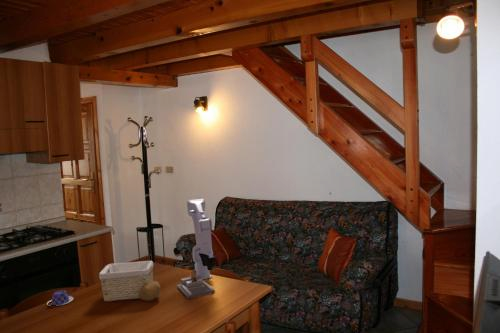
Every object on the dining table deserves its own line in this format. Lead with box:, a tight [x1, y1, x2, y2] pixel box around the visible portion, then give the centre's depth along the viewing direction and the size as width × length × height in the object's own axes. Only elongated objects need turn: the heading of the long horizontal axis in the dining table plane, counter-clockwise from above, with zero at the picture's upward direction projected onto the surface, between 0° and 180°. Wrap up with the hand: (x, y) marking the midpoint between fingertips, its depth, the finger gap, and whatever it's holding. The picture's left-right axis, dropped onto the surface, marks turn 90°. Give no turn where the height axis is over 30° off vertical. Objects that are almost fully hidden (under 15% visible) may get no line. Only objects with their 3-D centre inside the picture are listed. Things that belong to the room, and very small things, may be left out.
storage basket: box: [98, 260, 154, 302], centre depth 201 cm, size 24×16×15 cm
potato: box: [139, 280, 162, 302], centre depth 194 cm, size 10×14×8 cm
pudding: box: [46, 289, 74, 307], centre depth 197 cm, size 12×12×5 cm
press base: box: [176, 275, 216, 300], centre depth 203 cm, size 18×14×4 cm
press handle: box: [186, 269, 204, 288], centre depth 203 cm, size 3×8×8 cm, turn 116°
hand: (207, 267), depth 207 cm, fingers open, 7 cm apart
